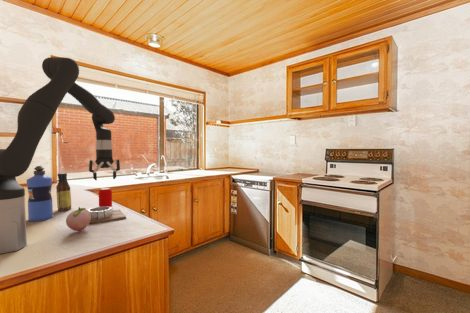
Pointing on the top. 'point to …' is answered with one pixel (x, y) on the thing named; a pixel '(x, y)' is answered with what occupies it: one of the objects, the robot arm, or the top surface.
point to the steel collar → (100, 212)
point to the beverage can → (105, 197)
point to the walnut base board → (115, 216)
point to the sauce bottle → (63, 193)
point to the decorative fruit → (78, 219)
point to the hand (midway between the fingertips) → (105, 179)
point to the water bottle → (39, 196)
